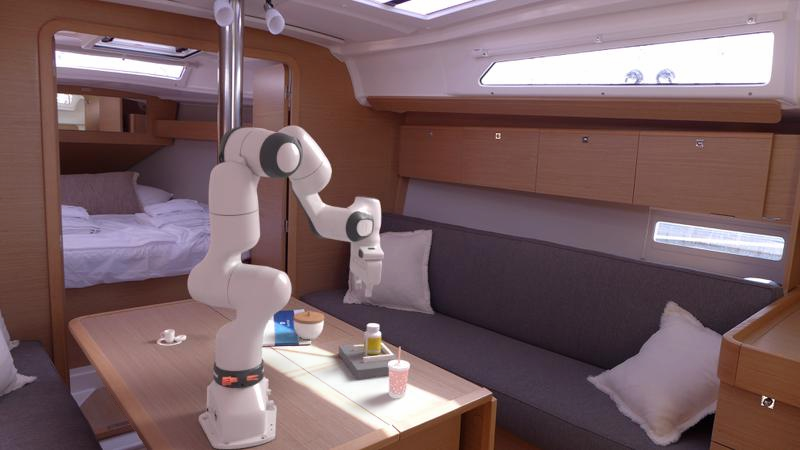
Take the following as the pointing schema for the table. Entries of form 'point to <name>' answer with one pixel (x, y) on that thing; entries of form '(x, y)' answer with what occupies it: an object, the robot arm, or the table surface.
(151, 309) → the table surface
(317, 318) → the lidded jar
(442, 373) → the table surface
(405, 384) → the beverage cup
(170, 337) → the white cup and donut
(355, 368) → the dock
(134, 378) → the table surface
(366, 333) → the supplement bottle
